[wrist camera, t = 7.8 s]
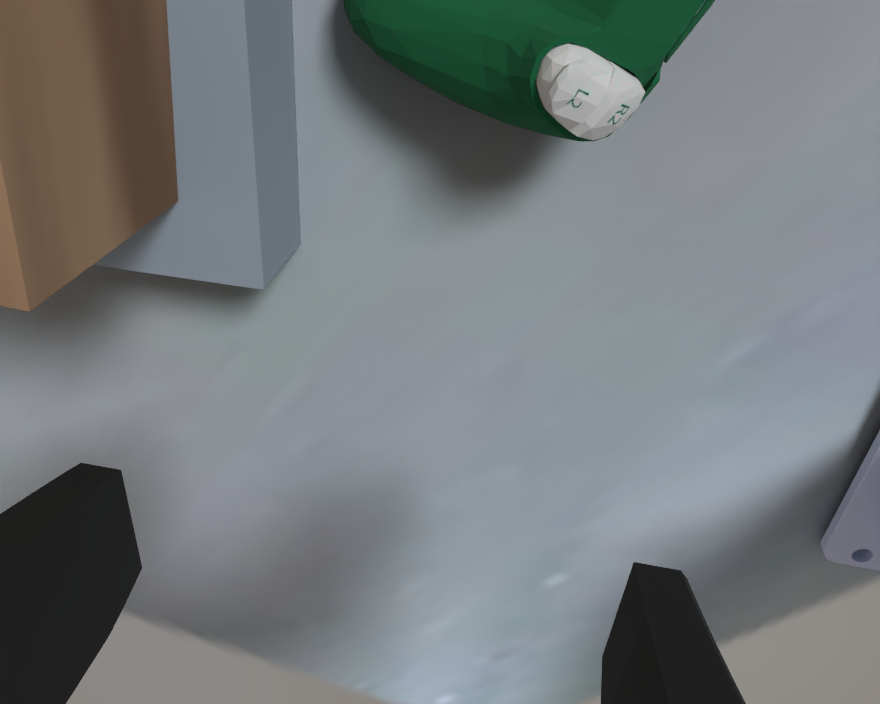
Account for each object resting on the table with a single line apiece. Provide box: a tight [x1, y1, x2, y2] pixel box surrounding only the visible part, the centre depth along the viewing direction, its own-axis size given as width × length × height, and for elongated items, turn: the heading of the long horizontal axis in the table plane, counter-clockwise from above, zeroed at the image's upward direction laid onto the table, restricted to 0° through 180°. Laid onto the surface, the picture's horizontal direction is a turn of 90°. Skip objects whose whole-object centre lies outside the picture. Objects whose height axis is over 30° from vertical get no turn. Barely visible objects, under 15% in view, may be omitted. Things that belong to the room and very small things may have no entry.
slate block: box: [93, 0, 301, 290], centre depth 16 cm, size 8×8×3 cm
